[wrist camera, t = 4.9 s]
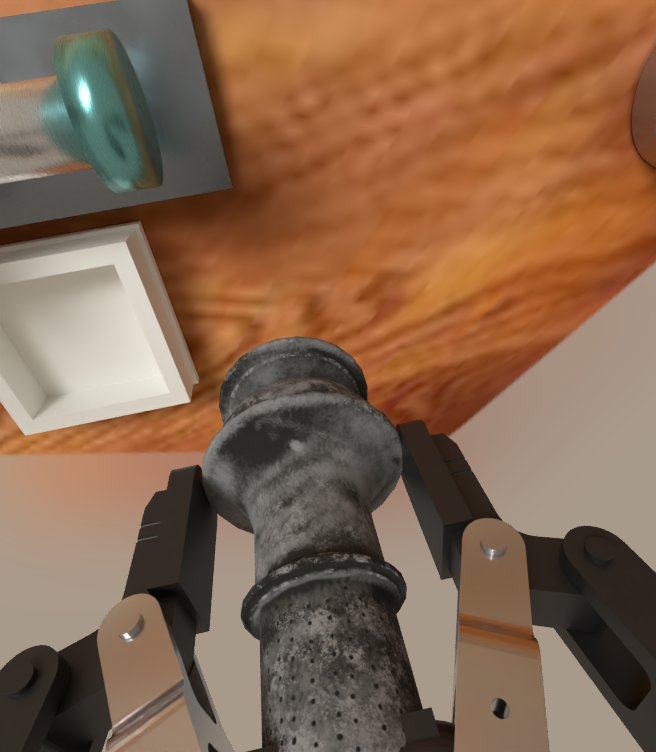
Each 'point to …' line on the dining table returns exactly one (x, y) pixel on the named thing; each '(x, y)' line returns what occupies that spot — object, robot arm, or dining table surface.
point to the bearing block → (162, 92)
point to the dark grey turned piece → (315, 545)
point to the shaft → (81, 118)
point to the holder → (88, 330)
